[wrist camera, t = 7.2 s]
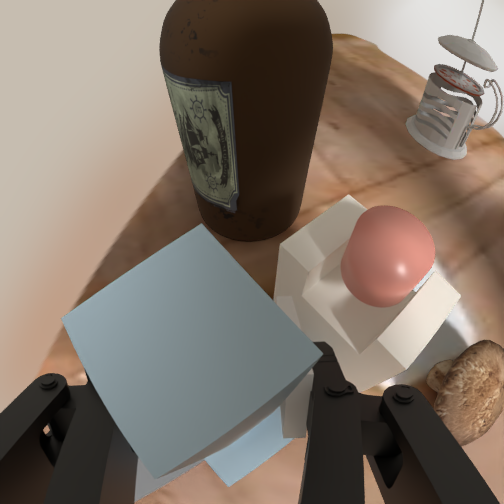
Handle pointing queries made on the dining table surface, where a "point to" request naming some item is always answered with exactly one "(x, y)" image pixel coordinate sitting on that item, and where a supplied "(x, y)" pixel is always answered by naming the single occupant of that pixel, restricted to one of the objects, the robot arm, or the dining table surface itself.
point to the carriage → (192, 359)
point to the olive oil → (247, 105)
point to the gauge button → (386, 256)
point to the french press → (452, 100)
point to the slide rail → (344, 312)
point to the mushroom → (470, 390)
